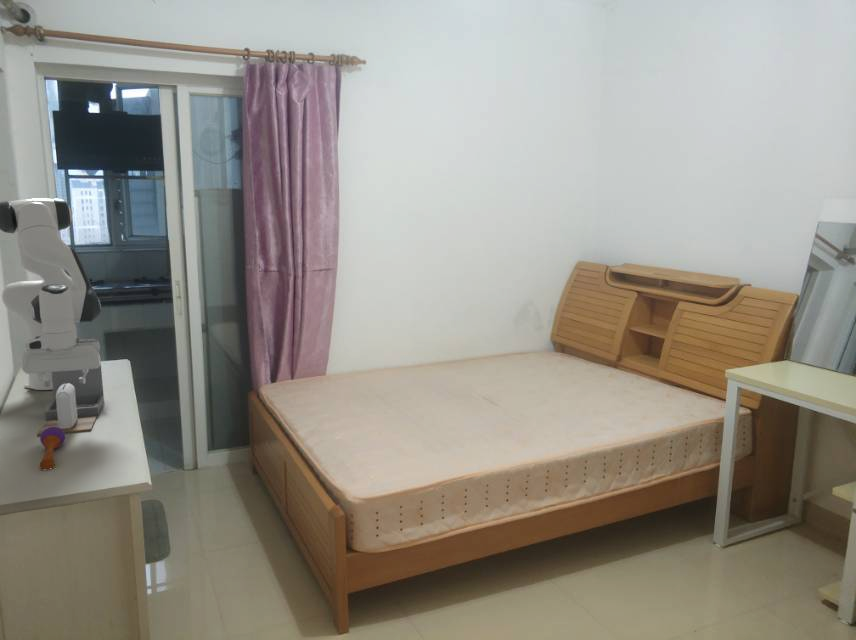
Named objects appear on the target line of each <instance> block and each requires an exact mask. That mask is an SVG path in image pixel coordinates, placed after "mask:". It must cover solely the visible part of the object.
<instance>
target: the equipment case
mask: <svg viewBox="0 0 856 640" xmlns="http://www.w3.org/2000/svg"><path fill="white" fill-rule="evenodd" d="M100 360H102V359H101V358H100ZM83 375H84V373H82V370H72V371H58V372H52V382H53V389H52V391H53V400H52V401H51V402H50V403H49V405H48V407H47V408H46V410H45V412H44V413H45V414H44V415H45V421H46V420H54V419H58V415H57V405H56V393H57V390H58V388H59V387H60V386H61V385H62V384H67V383H69V384H72V385H73V386H74V388H75V397H76V407H77V405H79V406H86V405H87V406H86V407H77V417H86V416H96V415H97V417H99V416H100V413H101V411H102V408H103V406H104V403H105V395H104V385H103V384H104V383H103V372H102V364H101V365H100V366H99V367H98V368H97V369H88V373H87V375H86V377H85V384H79V377H83ZM88 405H89V406H88ZM90 405H95V406H90Z"/></svg>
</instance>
